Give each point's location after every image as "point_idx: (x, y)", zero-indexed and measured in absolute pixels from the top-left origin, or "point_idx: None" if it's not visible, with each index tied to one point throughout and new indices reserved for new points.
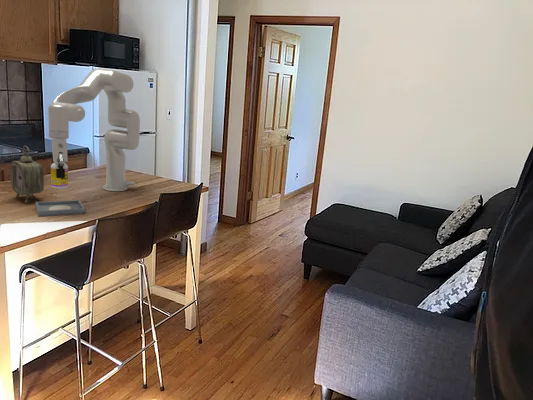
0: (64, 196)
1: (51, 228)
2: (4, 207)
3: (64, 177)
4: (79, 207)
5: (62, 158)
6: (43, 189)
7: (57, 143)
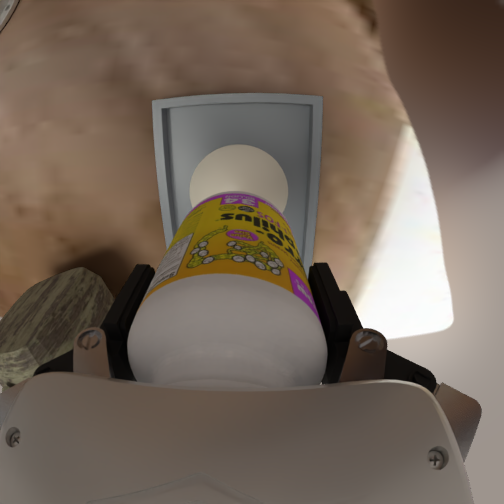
0: (44, 167)
1: (430, 244)
2: None
3: (327, 264)
4: (237, 106)
5: (467, 450)
6: (82, 269)
7: None
